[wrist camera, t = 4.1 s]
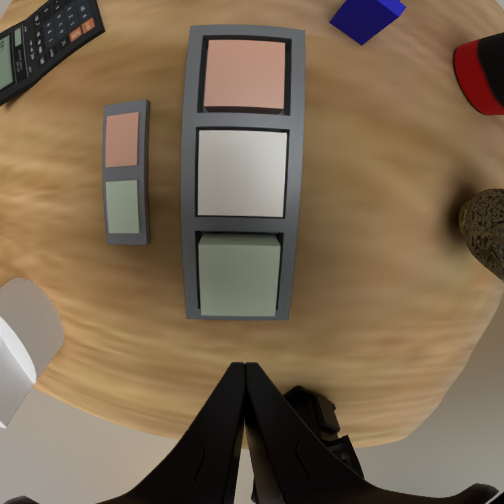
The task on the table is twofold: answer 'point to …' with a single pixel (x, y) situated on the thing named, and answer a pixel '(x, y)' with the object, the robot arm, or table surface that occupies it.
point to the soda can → (482, 73)
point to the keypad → (200, 119)
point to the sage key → (238, 274)
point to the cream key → (241, 173)
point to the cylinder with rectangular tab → (24, 341)
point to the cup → (484, 228)
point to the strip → (126, 172)
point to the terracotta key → (245, 77)
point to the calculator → (44, 42)
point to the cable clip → (366, 17)
